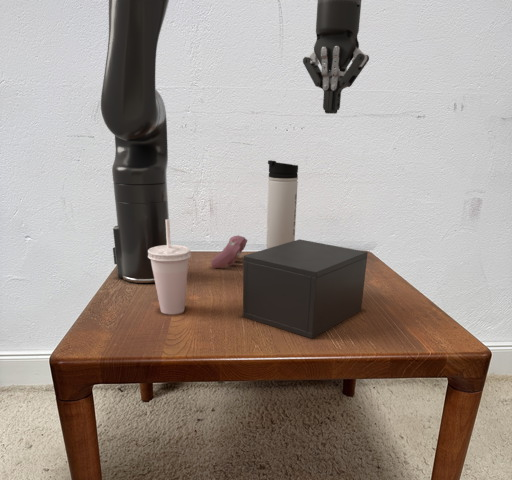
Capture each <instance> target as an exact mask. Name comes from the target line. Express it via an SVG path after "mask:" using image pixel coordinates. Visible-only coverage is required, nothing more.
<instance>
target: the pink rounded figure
mask: <svg viewBox="0 0 512 480" xmlns="http://www.w3.org/2000/svg"><path fill="white" fill-rule="evenodd" d="M247 243H248V239H246V237H244V236H241V235H239V234H238V235H232V236H231V237H230V238H229V240H228V243H227V244H226V245H225V247H223V249H222V251H220V252H219V253H218V254H216V255H215V256H213V258H212V259H211V262H210V265H211V267H212V268H214V269H220V268H224V267H225V266H227V265H228V266H230V267H232V266H233V265H234V263H236V261H237V260H240V258H241V256H242V252H243V251H244V249H246V247H247Z"/></svg>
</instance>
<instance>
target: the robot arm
mask: <svg viewBox="0 0 512 480" xmlns="http://www.w3.org/2000/svg"><path fill="white" fill-rule="evenodd" d="M316 2H317V3H316V4H317V6H316V19H315V20H316V21H315V22H316V23H315V35H316V39H315V40H316V41H315V43H314V45H313V52H311V53H310V54H309V56H305V57H303V58H302V64H303V65H304V67H305V69H306V72H307V73H308V74H309V75H308V76H310V79H311V80H312V83H313V84H314V86H315V87H316V88H320V89H322V91H323V101H322V109H323V111H324V113H325V114H327V115H329V114H330V115H331V114H333V115H335V114H337V113H338V111H339V110H340V108H341V98H342V91H343V90H344V89H346V88H350V87H352V86H353V84H354V83H355V81H356V79H358V76H359V75H360V73H361V72H362V71H363V69H364V68H365V67H366V65H367V64H368V62H369V60H370V56H369V55H368V54H366V53H364V52H363V51H362V50H361V49H360V42H359V40H358V35H359V31H360V23H361V22H360V21H361V11H362V10H361V9H362V0H317V1H316ZM169 3H170V0H108V40H107V41H108V42H107V51H106V59H105V66H104V73H103V81H102V86H101V87H102V88H101V95H100V112H101V116H102V119H103V122H104V124H105V126H106V127H107V129H108V131H110V132H111V134H112V135H113V136H114V145H115V146H114V147H115V152H114V153H115V155H114V161H113V164H112V167H111V171H112V172H111V173H112V182H113V183H112V184H113V193H114V194H113V195H114V201H115V202H114V203H115V212H116V224H117V225H115V226H113V227H112V232H113V242H114V247H112V253H113V262H114V265H116V270H117V278H118V279H123V280H124V281H126V282H130V283H136V284H137V283H138V284H151V283H155V279H154V274H153V270H152V264H151V259H149V258H148V250H149V249H150V248H152V247H156V246H162V245H167V238H166V221H165V220H166V219H169V220H170V216H169V214H170V213H169V200H168V199H169V198H168V197H169V195H168V183H167V182H168V180H167V179H168V178H167V177H168V176H167V175H168V174H167V171H168V164H169V148H168V147H169V146H168V121H167V120H168V119H167V111H166V104H165V101H164V100H163V99H164V98H163V97H162V96H161V93H160V92H159V91H158V90H157V88H156V85H157V84H156V69H157V68H156V65H157V51H158V44H159V39H160V34H161V31H162V27H163V24H164V21H165V17H166V14H167V10H168V8H169V7H168V6H169ZM350 63H351V64H350ZM319 65H320V66H321V68H320V66H319Z"/></svg>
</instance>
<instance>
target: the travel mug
mask: <svg viewBox="0 0 512 480" xmlns="http://www.w3.org/2000/svg"><path fill="white" fill-rule="evenodd" d="M267 165H268V176H267V179H268V181H267V209H266V211H267V212H266V213H267V214H266V247H265V249H268V248H272V247H275V246H278V245H282V244H285V243H289V242H292V241H296V238H295V237H296V221H297V220H296V219H297V201H298V185H299V184H298V183H299V182H298V180H299V177H298V175H299V174H298V173H299V165H298V164H291V163H285V162H277V161H276V160H273V159H272V160H271V159H270V160H267Z"/></svg>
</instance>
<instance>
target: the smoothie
mask: <svg viewBox="0 0 512 480" xmlns="http://www.w3.org/2000/svg"><path fill="white" fill-rule="evenodd" d="M165 221H166V238H167V245H162V246H156V247H152V248H150V249H149V250H148V258H149V259H151V264H152V270H153V274H154V279H155V282H154V283H155V288H156V294H157V299H158V305H159V309H160V312H161V313H162V314H165V315H179V314H182V313H184V311H185V310H186V309H185V308H186V296H187V285H188V272H189V271H188V270H189V260H190V258H191V257H192V253H191V248H189V247H187V246H183V245H180V244H179V245H177V244H171V225H170V224H171V223H170V218H169V219H166V220H165Z"/></svg>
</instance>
